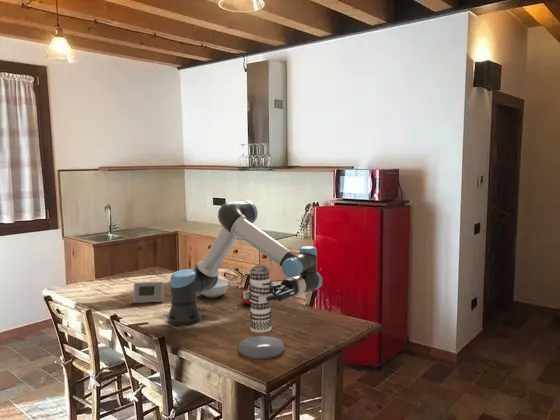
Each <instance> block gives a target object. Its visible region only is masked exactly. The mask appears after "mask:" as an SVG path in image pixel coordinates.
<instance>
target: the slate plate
mask: <svg viewBox="0 0 560 420" xmlns="http://www.w3.org/2000/svg"><path fill="white" fill-rule="evenodd" d="M238 343H239V344H238V353H239V354H240V355H241V356H243V357H245V358H248V359H253V360H267V359H273V358H276V357H278V356H280V355H281V354H282V353H283V352H284V351H285V349H284V347H285V344H284V341H282V340H281V339H279V338H278V337H273V336H265V335H259V336H258V335H257V336H251V337H247V338H245V339H243V340H241V341H240V342H238ZM272 357H273V358H272Z"/></svg>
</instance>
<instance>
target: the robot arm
mask: <svg viewBox="0 0 560 420" xmlns="http://www.w3.org/2000/svg"><path fill="white" fill-rule="evenodd" d="M217 219H218V222H219V224H220V225H221V229H220V231H219V232H218V234H217V236H216V238H215V239H214V241H213V243H212V244H211V246H210V248H209V249H208V251H207V253H206V255H205V256H204V258H203V260H199V261H198V262H197V264H196V265H195V267H194V269H191V268H183V269H180V270H179V269H178V270H176V271H175V272H173V273H172V274H171V276H170V282H169V285H170V300H171V303H170V304H171V306H170V309H169V312H168V314H167V315H168V317H167V323H168V324H170V325H172V326H173V325H174V326H189V325H190V326H191V325H194V324H196V323H197V324H198V322H200V321H201V312H200V309H199V308H198V304H197V295H199V294H201V292H204V291H207V290H210V289H211V288H213V287H214V286H215V285H216V284H217V282H218V280H219V274H220V271H219V268H220V267H221V265H222V264H223V262H224V260H225V258H226V257H227V255H228V253H230V251H231V249H232V247H233V246H234V244H235V242H236V240H238V237H240V238H241V239H242V240H244V241H245V242H247V243H248V245H250V246H252V247H253V248H255V249H256V250H257V251H259V252H260V253H262V254H263V255H265V256H266V257H267V258H269V259H270V260H271V261H273V262H274V263H275V264H277V265H278V266H280V267H281V271H282V273H283V274H284V275H285V276H286V277H288V278H286V279H283V280H282V281H281V283H278V284H274V283H272V284H271V285H269V286H270V287H271V288H272V289H270V290H269V291H271V293H270V294H267V295H263V296H260V297H259V304H262V303H266V302H269V301H270V302H273V301H278V302H281V301H284V300H286V299H288V298H291V297H295V296H300V295H301V294H304V293H307V292H312V291H315V290H318V289H319V288H321V286H322V285H323V278H322V275H321V274H320V273H319V272H318V250H317V248H316V247H315V246H310V245H304V246H301V247H300V248H299V253H298V254H295V253H294V252H292V251H290V250H289V249H288V248H287V247H285V246H284V245H282V244H281V243H280V242H278V241H276V239H274V238H272V237H271V236H270V235H269V234H267V233H265V232H264V231H263V230H261V229H260V228H259V227H257V226H255V225H254V224H253V223H255V222H256V220H257V219H258V208H257V206H256V205H255V203H254V202H253V201H251V200H249V199H240V200H233V201H227V202H225V203H223V204H222V205H221V206H220V207H219V209H218V211H217ZM242 292H243V291H242ZM249 292H250V290H249V291H245V292H243V299H247V298H249V296H250V295H249Z"/></svg>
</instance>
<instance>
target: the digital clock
mask: <svg viewBox="0 0 560 420" xmlns="http://www.w3.org/2000/svg"><path fill="white" fill-rule="evenodd" d="M164 297H165V283H164V281H142V282H141V281H140V282H139V281H137V282H134V284H133V298H132V299H133V303H135V304H148V303H147V302H157V303H162V302H164V300H165V299H164Z"/></svg>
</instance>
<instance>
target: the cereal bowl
mask: <svg viewBox="0 0 560 420" xmlns="http://www.w3.org/2000/svg"><path fill="white" fill-rule="evenodd" d="M228 286H229V285H228V282H227V281H226V280H219V279H218V282H217V284H216V285H215V286H214V287H213V288H211V289H210V290H207V291H204V292H201V293H200V294H201V295H203V296H205V297H207V298H218V297H220V296H222V295H224V294H225V293H226V292H227V290H228Z"/></svg>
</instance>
